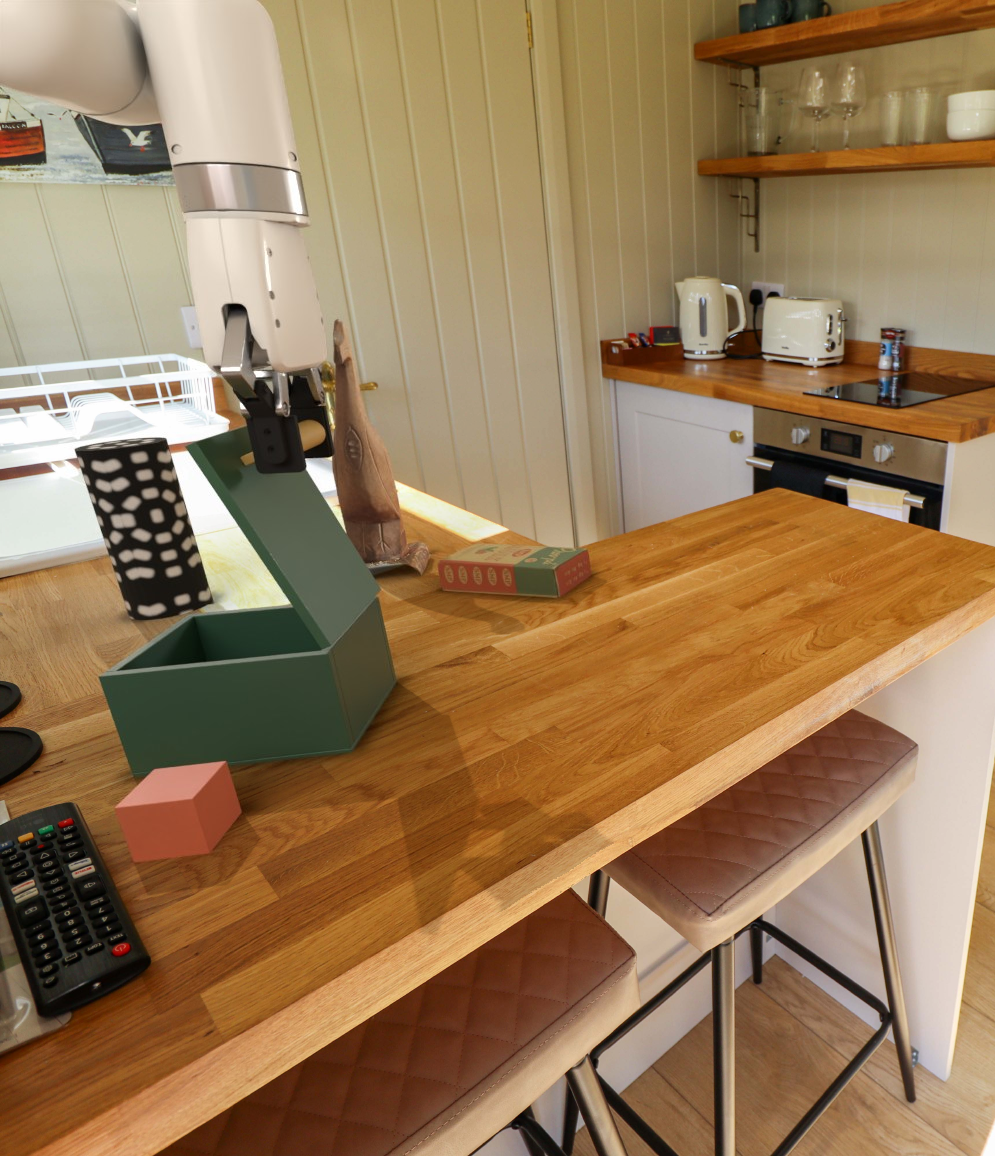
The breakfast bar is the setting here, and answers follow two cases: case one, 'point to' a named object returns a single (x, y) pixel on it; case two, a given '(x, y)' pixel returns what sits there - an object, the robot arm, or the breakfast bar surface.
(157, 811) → the block
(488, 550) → the carton
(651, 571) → the breakfast bar surface
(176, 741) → the chest
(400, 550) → the bird sculpture
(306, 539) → the chest lid
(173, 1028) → the breakfast bar surface
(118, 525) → the white-spotted black cylinder
